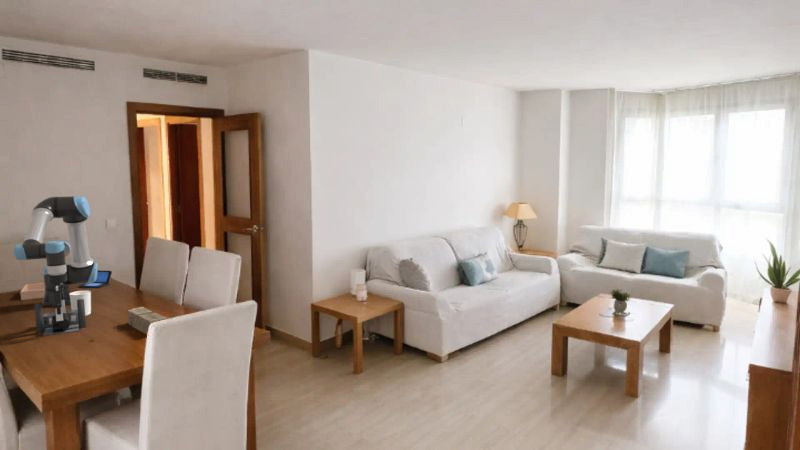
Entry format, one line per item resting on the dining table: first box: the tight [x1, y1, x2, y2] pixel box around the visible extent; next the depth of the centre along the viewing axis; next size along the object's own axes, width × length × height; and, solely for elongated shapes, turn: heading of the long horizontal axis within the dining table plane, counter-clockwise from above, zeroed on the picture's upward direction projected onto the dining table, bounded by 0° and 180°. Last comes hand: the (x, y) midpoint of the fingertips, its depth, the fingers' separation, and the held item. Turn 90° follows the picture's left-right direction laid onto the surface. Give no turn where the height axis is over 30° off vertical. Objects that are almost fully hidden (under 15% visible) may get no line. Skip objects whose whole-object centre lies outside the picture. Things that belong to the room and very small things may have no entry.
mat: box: [42, 324, 80, 337], centre depth 246 cm, size 11×14×1 cm
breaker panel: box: [43, 309, 79, 329], centre depth 254 cm, size 8×16×6 cm, turn 119°
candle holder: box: [69, 290, 92, 317], centre depth 271 cm, size 10×10×12 cm
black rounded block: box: [52, 313, 70, 333], centre depth 245 cm, size 10×7×7 cm
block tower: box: [127, 306, 167, 335], centre depth 248 cm, size 8×8×29 cm
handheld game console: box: [77, 269, 113, 289], centre depth 337 cm, size 16×13×9 cm
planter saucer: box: [20, 282, 45, 301], centre depth 315 cm, size 21×20×5 cm
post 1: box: [34, 303, 45, 335], centre depth 241 cm, size 3×3×14 cm
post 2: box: [77, 299, 87, 329], centre depth 249 cm, size 3×3×14 cm
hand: (61, 317), depth 245 cm, fingers open, 12 cm apart
